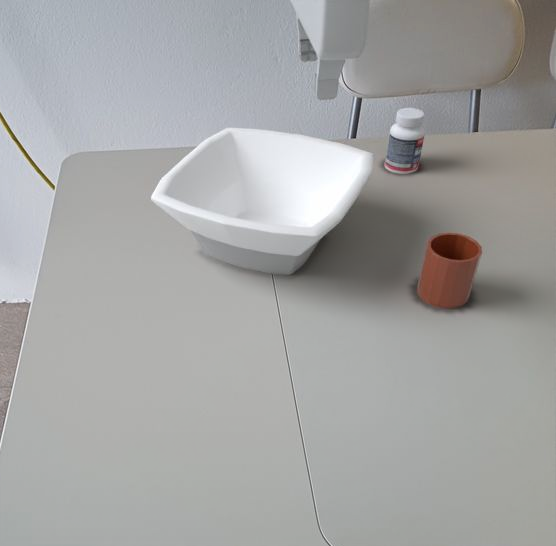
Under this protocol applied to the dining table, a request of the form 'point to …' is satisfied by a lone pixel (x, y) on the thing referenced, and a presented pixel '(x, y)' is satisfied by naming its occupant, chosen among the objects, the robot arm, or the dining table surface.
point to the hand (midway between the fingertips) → (315, 76)
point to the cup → (448, 270)
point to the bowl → (263, 195)
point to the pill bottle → (405, 141)
